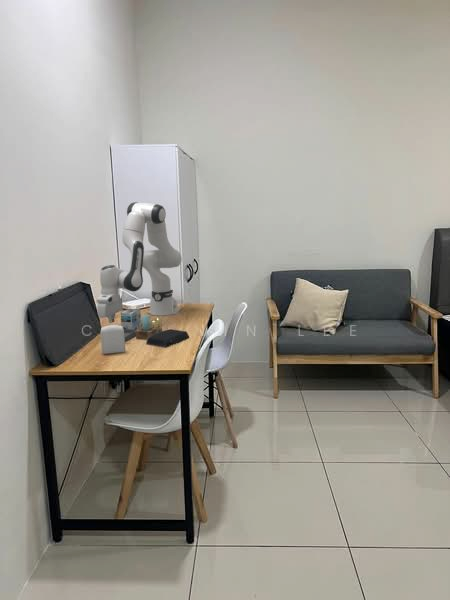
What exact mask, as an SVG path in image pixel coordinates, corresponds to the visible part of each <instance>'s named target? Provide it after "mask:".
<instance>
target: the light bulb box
mask: <svg viewBox="0 0 450 600" xmlns="http://www.w3.org/2000/svg"><path fill="white" fill-rule="evenodd" d="M141 312H142V311H141V308H140V309H139V308H138V309H137V308H128V309H126V310H124V311H123V310H122V311H120V324H121V325H120V326H122V327H123V329H135V330H138V329H140V328H142V315H141Z"/></svg>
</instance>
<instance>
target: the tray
mask: <svg viewBox="0 0 450 600" xmlns="http://www.w3.org/2000/svg"><path fill="white" fill-rule="evenodd" d="M136 331H137V330H135V329H124V338H125V343H126V342H128V341H130V340H132V339H133V338H136Z"/></svg>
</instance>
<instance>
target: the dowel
mask: <svg viewBox="0 0 450 600" xmlns="http://www.w3.org/2000/svg"><path fill="white" fill-rule="evenodd" d="M150 318H151V316H150V315H149V314H143V315H141V324H142V327H143V331H149V330H150V328H151V319H150Z"/></svg>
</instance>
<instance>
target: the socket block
mask: <svg viewBox="0 0 450 600" xmlns="http://www.w3.org/2000/svg"><path fill="white" fill-rule="evenodd" d="M156 333H157V328H152V327H150V330H149V331H143V326H141V328H140V329H138V330H137V331H136V336H135V339H136V340H146V341H147V339H148V338H149V337H150V336H152V335H154V334H156Z"/></svg>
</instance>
